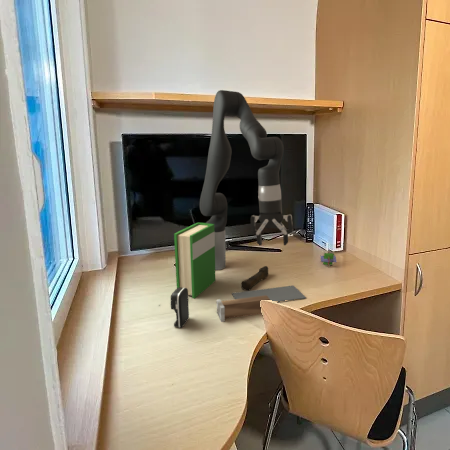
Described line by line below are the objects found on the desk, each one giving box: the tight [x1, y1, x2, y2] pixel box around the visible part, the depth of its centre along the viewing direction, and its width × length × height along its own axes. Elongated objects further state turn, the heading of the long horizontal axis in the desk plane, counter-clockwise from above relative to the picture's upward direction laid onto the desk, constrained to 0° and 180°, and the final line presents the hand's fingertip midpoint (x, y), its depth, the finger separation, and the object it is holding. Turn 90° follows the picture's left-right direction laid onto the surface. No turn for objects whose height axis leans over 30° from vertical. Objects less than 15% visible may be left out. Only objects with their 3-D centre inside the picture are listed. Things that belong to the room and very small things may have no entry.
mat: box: [231, 285, 307, 303], centre depth 134 cm, size 11×25×1 cm, turn 104°
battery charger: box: [170, 287, 190, 328], centre depth 115 cm, size 7×4×11 cm, turn 165°
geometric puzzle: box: [320, 250, 337, 268], centre depth 163 cm, size 7×7×8 cm
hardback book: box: [173, 222, 216, 299], centre depth 140 cm, size 18×7×24 cm, turn 155°
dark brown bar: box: [240, 265, 269, 291], centre depth 146 cm, size 19×4×5 cm, turn 144°
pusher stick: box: [216, 295, 270, 323], centre depth 121 cm, size 6×17×5 cm, turn 104°
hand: (272, 244), depth 125 cm, fingers open, 8 cm apart
